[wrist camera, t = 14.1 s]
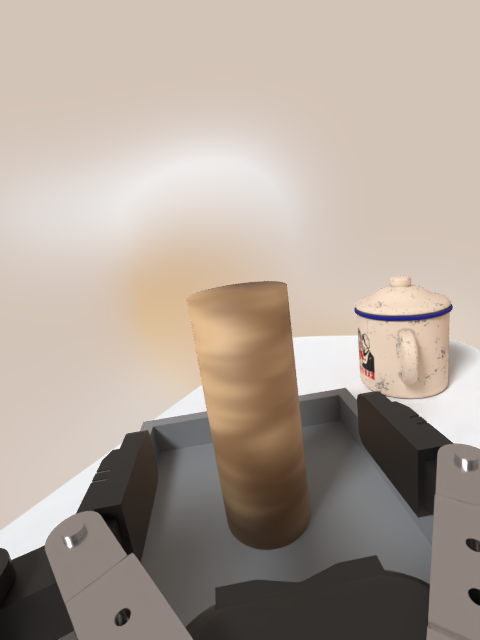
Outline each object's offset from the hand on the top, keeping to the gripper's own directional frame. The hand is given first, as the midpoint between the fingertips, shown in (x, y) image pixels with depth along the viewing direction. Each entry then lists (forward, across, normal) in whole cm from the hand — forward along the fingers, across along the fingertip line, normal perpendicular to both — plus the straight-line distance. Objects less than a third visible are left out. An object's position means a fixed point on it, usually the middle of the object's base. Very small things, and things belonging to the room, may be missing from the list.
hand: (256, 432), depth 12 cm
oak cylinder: (+6, 0, +9) cm, 11 cm away
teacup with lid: (+19, -18, +11) cm, 28 cm away
